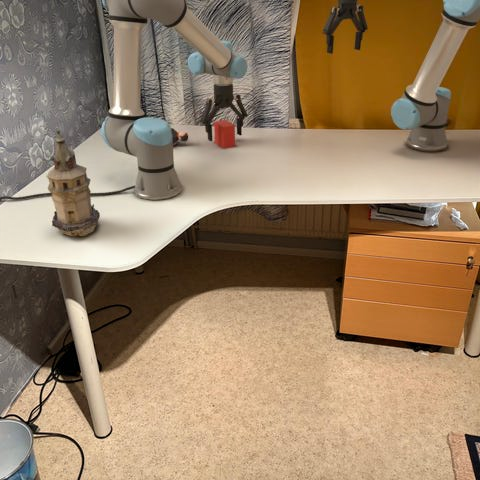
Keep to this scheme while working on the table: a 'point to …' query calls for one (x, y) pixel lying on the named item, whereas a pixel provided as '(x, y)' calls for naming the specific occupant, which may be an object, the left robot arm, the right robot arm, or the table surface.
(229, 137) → the block
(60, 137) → the miniature building
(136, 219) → the table surface
